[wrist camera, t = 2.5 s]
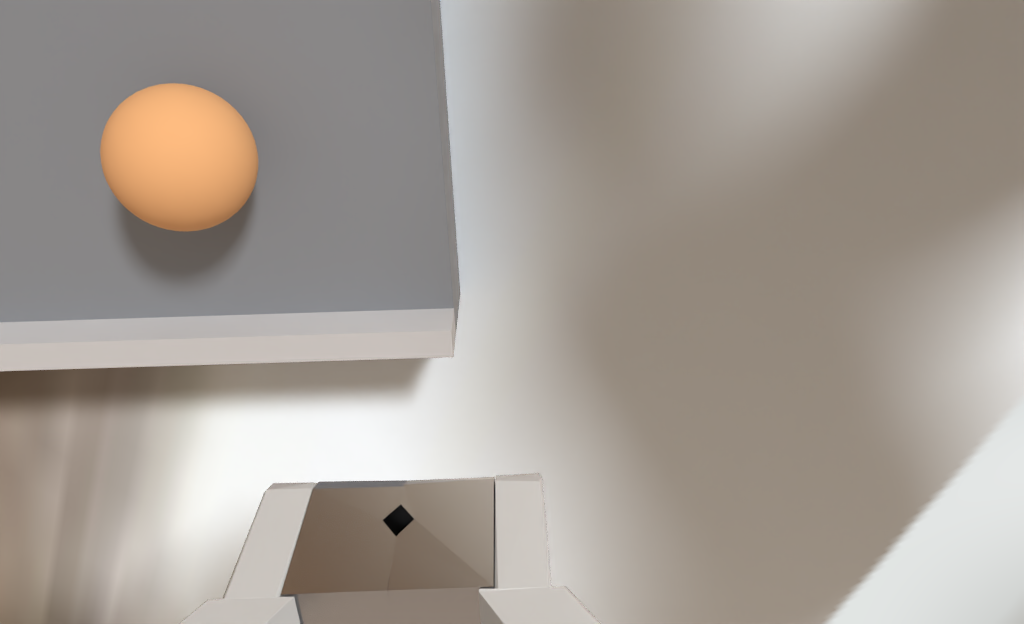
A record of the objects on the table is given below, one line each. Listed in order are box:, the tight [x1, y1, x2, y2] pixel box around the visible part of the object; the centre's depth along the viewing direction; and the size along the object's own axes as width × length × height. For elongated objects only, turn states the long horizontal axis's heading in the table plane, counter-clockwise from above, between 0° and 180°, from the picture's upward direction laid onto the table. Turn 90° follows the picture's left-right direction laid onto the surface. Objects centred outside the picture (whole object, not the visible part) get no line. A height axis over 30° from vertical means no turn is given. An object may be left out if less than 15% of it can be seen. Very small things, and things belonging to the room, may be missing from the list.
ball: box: [100, 83, 258, 232], centre depth 21 cm, size 4×4×4 cm
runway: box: [0, 0, 460, 371], centre depth 24 cm, size 22×14×4 cm, turn 92°
